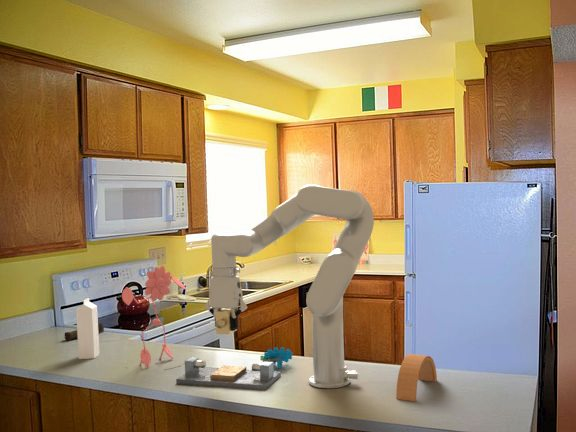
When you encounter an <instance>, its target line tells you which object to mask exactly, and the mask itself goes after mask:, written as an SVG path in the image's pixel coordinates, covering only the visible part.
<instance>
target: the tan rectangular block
mask: <svg viewBox="0 0 576 432" xmlns="http://www.w3.org/2000/svg"><path fill="white" fill-rule="evenodd" d="M215 315H216V327H215V333H216V334H217V335H231V334H233V333H235V332H236V331H238V328H237V329H236V330H234V331H232V330H231V318H232V314H231V310H230V309H220V310H218V311H216V312H215Z"/></svg>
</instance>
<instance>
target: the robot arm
mask: <svg viewBox="0 0 576 432" xmlns="http://www.w3.org/2000/svg"><path fill="white" fill-rule="evenodd" d="M315 215H316V216H321V217H327V218H328V217H329V218H334V219H340V220H345V224H344V227H343V229H342V231H341V232H340V234H339V238H338V239H337V242H336V244H335V245H334V247H333V249H332V251H331V252H330V253H329V254H328V255H327V256H326V257H325V258H324V260H323V261H322V264H320V268H319V270H318V271H317V273H316V276H315V277H314V279H313V282H312V283H311V285H310V287H309V289H308V292H307V294H306V300H305V302H306V306H307V309H308V311H309V312H310V313H311V331H312V332H311V333H312V334H311V335H312V338H311V339H312V357H313V358H312V359H313V361H312V362H313V363H312V364H313V375H312V376H310V377H309V378H308V383H309V385H311V387H315V388H319V389H337V388H343V387H345V386H347V385H349V384H350V382H351V380H359V372H357V371H356V370H349V369H348V366H347V365H345V346H344V317H343V316H344V295H345V293H346V290H347V289H348V286H349V284H350V283H351V281H352V278H353V277H354V275H355V273H356V272H357V271H356V270H357V269H358V265H359V262H360V260H361V258H362V256H363V253H365V249H366V247H367V245H368V243H369V240H370V239H371V236H372V234H373V229H374V224H375V223H374V222H375V218H374V217H375V216H374V211H373V209H372V206H371V204H370V203H369V201H368V200H367V198H366V197H365V196H364V195H363V194H362V192H359V191H357V190H348V189H341V188H340V189H339V188H333V187H325V186H321V185H319V184H312V183H310V184H306V185H303V186H302V187H301V188H300V189H299V190H298V192H297V193H296V194H294V195H293V196H291V197H290V198H289V199H287V200H286V201H284V202H283V203H281V204H280V205H278V206H277V207H275V208H274V209H273V210H272V211H271V214H270V215H268V217H267V218H266V219H264V220H263V221H261V222H260V223H258V224H257V225H255V226H254V227H252V228H251V229H249V231H245V232H242V233H241V232H240V233H237V234H234V233H233V234H232V233H227V232H226V233H225V232H223V233H215V234H213V235H212V236H211V238H210V239H211V240H210V241H211V243H210V245H211V265H212V266H211V267H212V268H211V269H212V271H211V272H212V276H211V277H210V280H209V281H210V282H209V289H208V300H207V302H206V303H205V305H204V308H205V309H206V310H207V311H209V312H210V313H211V315H212V316H213V318H214V326H215V328H216V315H215V312H216V311H218V310H220V309H230V310H231V314H232V318H231V330H232V331H234V330H236V329H237V330H238V328H239V320H238V319H239V316H240V315H241V313H242V312H243V313H244V311H245V310H247V309H248V306H247V303H245V301H244V299H243V298H244V297H243V288H242V283H241V278H240V275H238V274H240V273H241V269H240V268H237V257H239V258H247V257H250V256H253V255H256V254H258V253H259V252H261V251H263V250H264V249H265V248H267V247H269V246H270V245H271V244H273V243H274V242H276V241H277V240H279V239H280V238H281V237H284V236H285V235H287V234H288V233H290V232H292V231H293V230H294V229H296V228H297V227H299V226H301V225H302V224H304V223H305V222H306V221H308V220H310V219H311V218H312V217H314V216H315ZM238 307H240V308H239V309H238ZM237 330H236V331H237ZM234 332H235V331H234Z"/></svg>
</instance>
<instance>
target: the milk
mask: <svg viewBox="0 0 576 432" xmlns="http://www.w3.org/2000/svg"><path fill="white" fill-rule="evenodd" d="M75 312H76V313H75V314H76V328H77V329H76V330H77V335H78V338H77V350H78V351H77V353H78V354H77V355H78V360H89V359H91V360H92V359H96V358H97V357H98V356H99V355H100V342H99V341H100V339H99V338H100V337H99V334H98V323H99V321H98V320H99V319H98V315H99V314H98V305H96V304H94V303H93V302H91V301H90V298H89V297H87V298H85V299H84V300H83V304H82V305H80V306H79V307H77V308H75Z"/></svg>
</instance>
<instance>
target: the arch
mask: <svg viewBox="0 0 576 432" xmlns="http://www.w3.org/2000/svg"><path fill="white" fill-rule="evenodd" d="M437 377H438V376H437V369H436V364H435V361H434V359H433V358H432V357H431V356H430V355H423V354H413V353H409V354H407V355H406V356H405V357H404V358H403V360H402V362H401V364H400V367H399V371H398V375H397V381H396V394H395V396H396V398H395V399H397V400H402V401H403V400H404V401H411V402H417V390H418V389H417V388H418V380H419V381H427V382H435V383H436V382H438V378H437Z"/></svg>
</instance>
